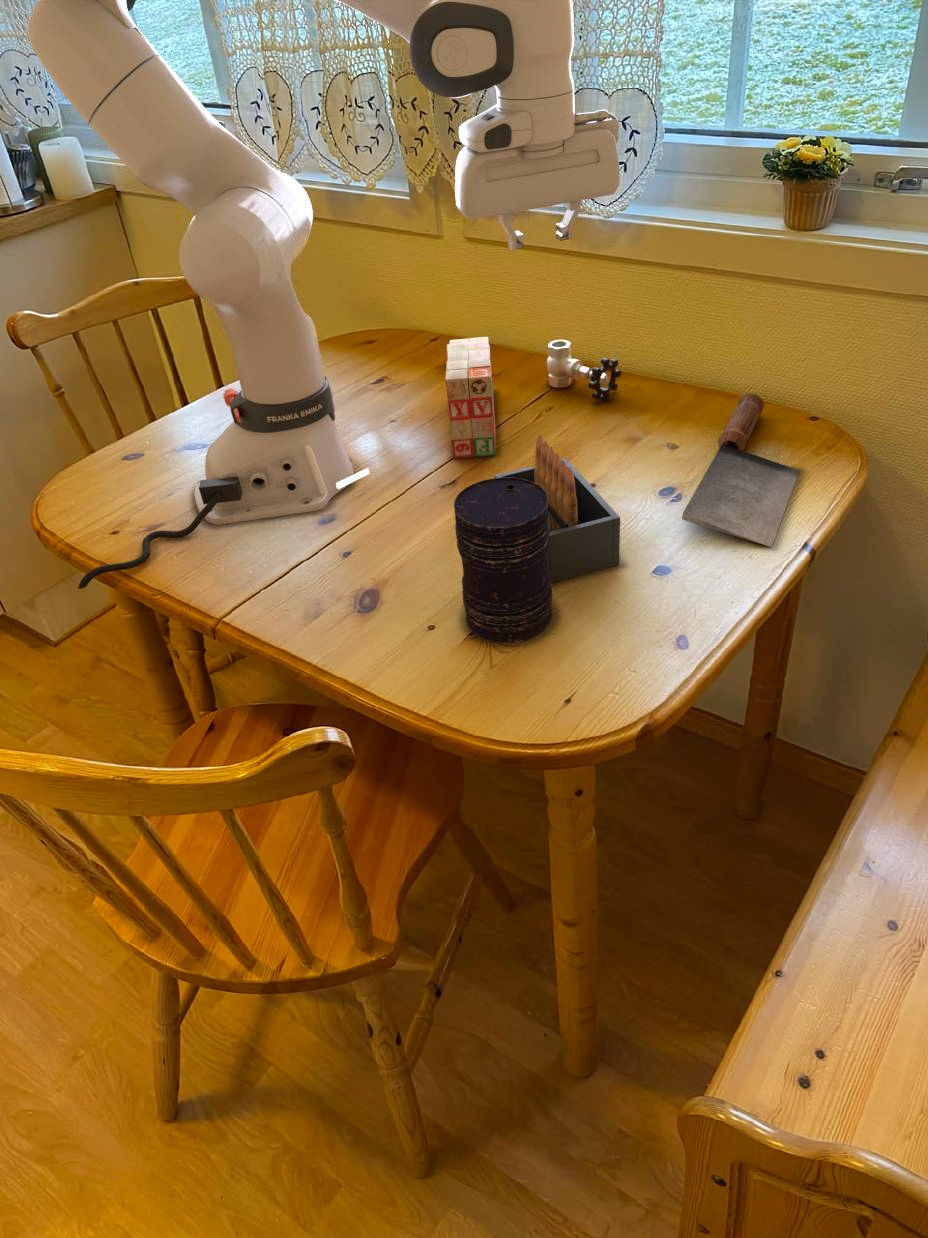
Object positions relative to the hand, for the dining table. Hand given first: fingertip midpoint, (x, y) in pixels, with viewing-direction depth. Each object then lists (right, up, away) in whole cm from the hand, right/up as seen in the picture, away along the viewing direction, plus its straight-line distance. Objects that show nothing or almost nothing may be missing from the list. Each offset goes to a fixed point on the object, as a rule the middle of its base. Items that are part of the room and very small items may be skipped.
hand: (540, 243), depth 115 cm
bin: (+2, -37, -1) cm, 37 cm away
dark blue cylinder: (-4, -47, -12) cm, 48 cm away
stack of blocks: (-8, -17, +26) cm, 32 cm away
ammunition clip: (+2, -37, -2) cm, 37 cm away
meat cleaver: (+29, -27, +8) cm, 41 cm away
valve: (+9, -11, +32) cm, 34 cm away
